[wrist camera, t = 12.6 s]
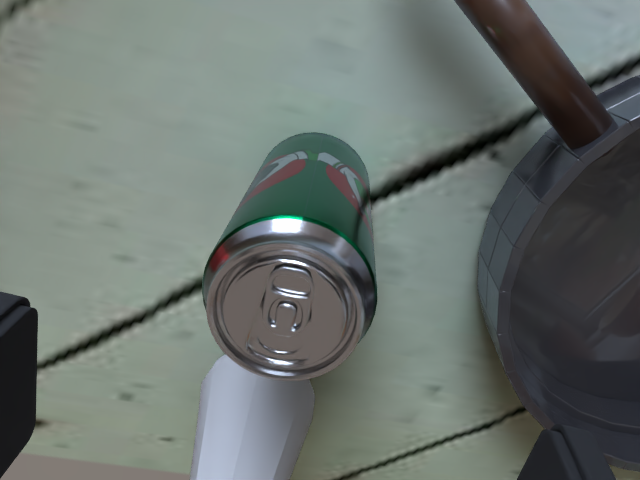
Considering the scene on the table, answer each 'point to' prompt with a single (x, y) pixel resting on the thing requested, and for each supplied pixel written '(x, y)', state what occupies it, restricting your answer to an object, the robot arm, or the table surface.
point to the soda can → (296, 263)
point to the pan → (572, 280)
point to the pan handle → (540, 68)
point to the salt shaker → (249, 425)
